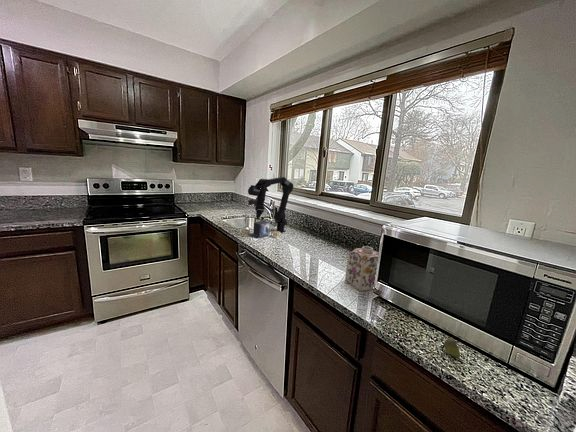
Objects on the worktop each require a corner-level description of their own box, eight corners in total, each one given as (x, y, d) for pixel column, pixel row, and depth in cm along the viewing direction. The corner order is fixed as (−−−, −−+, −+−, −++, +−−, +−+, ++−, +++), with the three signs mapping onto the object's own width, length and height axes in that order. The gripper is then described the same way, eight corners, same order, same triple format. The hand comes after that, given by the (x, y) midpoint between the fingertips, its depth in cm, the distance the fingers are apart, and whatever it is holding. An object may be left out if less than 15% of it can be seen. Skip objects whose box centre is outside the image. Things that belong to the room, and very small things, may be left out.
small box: (259, 238, 172) (260, 224, 170) (252, 236, 175) (253, 222, 173) (269, 236, 180) (270, 222, 178) (262, 234, 184) (263, 220, 182)
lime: (448, 347, 76) (451, 333, 75) (464, 359, 71) (468, 343, 70) (438, 350, 74) (441, 336, 73) (454, 362, 69) (458, 347, 68)
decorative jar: (380, 289, 111) (387, 251, 107) (359, 291, 106) (365, 252, 103) (364, 277, 122) (369, 243, 118) (344, 279, 117) (349, 243, 114)
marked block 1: (245, 234, 179) (245, 229, 178) (249, 235, 177) (250, 230, 176) (241, 235, 176) (242, 229, 175) (246, 236, 174) (246, 231, 173)
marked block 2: (275, 236, 182) (275, 230, 181) (279, 237, 180) (280, 231, 179) (272, 237, 178) (272, 231, 177) (276, 238, 176) (277, 232, 175)
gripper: (249, 194, 181) (245, 214, 183) (250, 195, 163) (246, 218, 164) (264, 196, 183) (260, 217, 185) (266, 198, 165) (262, 220, 166)
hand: (257, 218), depth 175 cm, fingers open, 9 cm apart
